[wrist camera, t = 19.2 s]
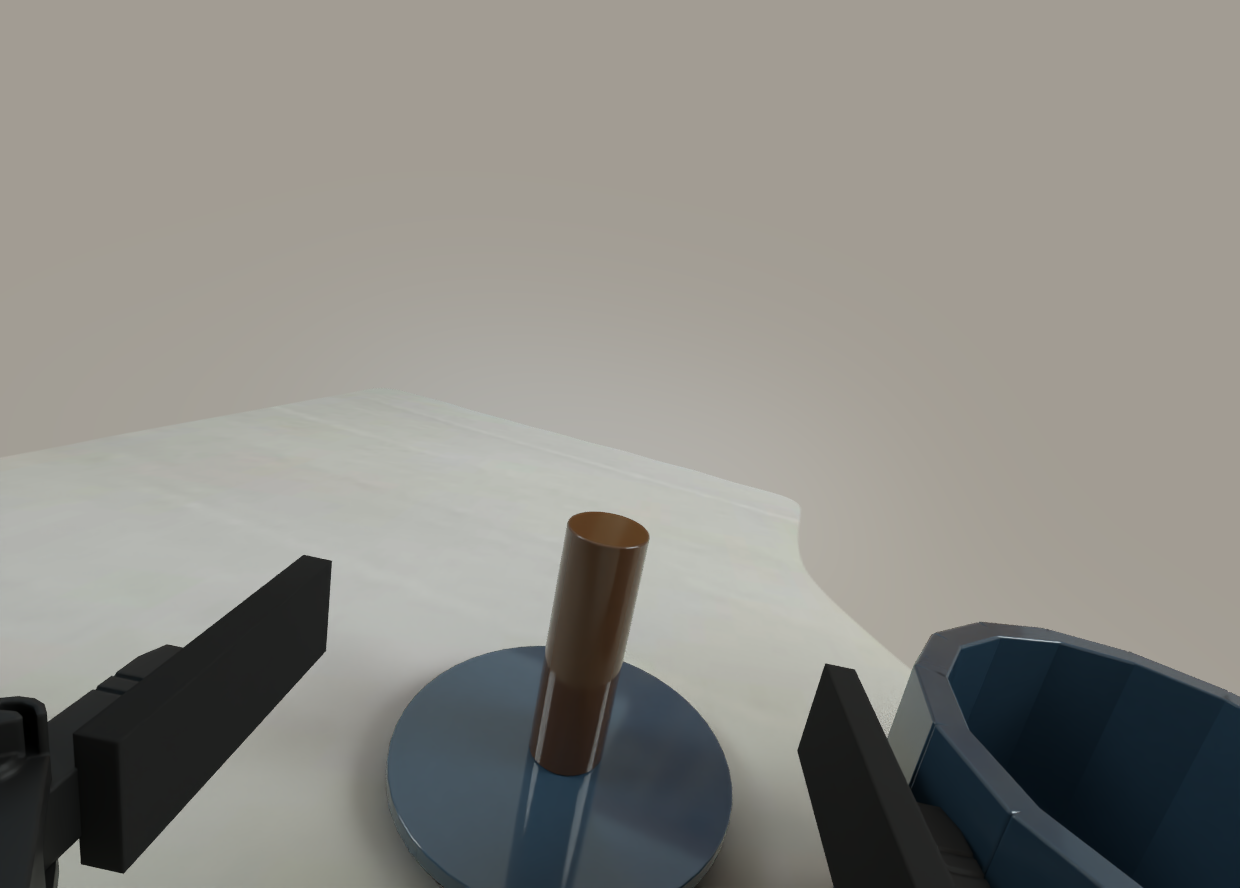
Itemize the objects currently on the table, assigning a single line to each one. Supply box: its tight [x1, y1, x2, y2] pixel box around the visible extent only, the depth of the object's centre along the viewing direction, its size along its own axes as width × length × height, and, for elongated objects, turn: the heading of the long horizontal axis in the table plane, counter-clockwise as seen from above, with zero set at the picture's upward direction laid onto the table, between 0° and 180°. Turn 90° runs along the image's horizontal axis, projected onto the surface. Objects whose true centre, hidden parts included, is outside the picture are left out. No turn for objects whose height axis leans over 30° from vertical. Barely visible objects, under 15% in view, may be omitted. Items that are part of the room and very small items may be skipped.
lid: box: [386, 512, 732, 888], centre depth 22 cm, size 13×13×10 cm
